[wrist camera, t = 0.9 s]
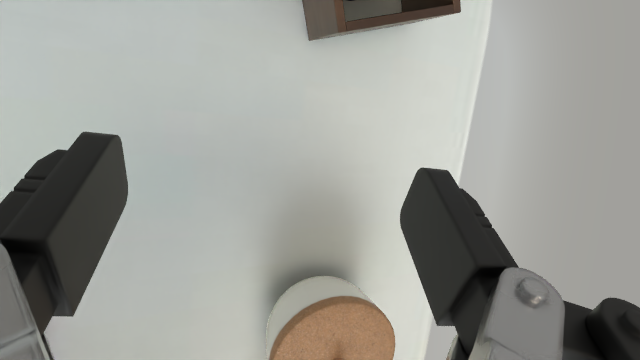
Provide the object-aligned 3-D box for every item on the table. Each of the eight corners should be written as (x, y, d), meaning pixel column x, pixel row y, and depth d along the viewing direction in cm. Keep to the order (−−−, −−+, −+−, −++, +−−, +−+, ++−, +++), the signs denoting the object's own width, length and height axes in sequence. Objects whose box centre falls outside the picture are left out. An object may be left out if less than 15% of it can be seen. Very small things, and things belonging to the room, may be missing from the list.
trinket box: (279, 370, 38) (303, 456, 30) (238, 288, 35) (251, 360, 26) (371, 321, 40) (419, 389, 32) (342, 239, 36) (387, 291, 28)
